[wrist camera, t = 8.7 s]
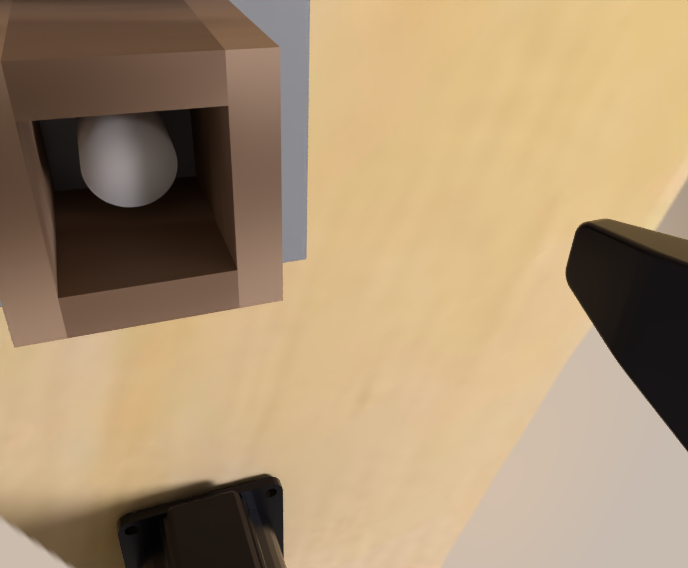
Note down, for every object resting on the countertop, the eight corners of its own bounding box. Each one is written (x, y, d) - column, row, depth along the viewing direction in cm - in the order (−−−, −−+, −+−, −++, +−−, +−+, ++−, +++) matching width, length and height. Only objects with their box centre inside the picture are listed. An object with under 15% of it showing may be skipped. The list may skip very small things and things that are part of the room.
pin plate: (296, 243, 22) (339, 312, 18) (-46, 294, 18) (-64, 387, 15) (298, -112, 16) (359, -98, 13) (-191, -127, 13) (-265, -113, 10)
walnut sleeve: (233, 204, 19) (282, 300, 15) (21, 231, 17) (14, 347, 13) (222, -6, 16) (279, 46, 12) (-40, 0, 14) (-71, 64, 10)
